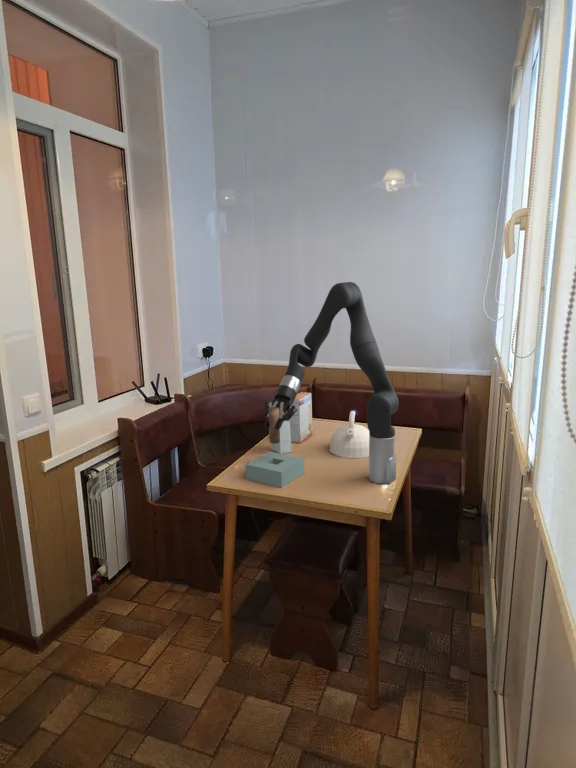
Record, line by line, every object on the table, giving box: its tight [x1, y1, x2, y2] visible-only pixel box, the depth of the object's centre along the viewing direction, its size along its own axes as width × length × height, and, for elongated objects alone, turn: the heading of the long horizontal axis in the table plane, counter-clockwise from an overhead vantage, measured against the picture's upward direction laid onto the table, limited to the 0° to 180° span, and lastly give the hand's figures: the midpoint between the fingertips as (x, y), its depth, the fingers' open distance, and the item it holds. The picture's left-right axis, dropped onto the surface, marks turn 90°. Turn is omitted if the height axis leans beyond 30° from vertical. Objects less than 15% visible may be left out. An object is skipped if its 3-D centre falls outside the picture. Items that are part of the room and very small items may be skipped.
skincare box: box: [270, 421, 292, 455], centre depth 223 cm, size 8×6×15 cm
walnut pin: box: [268, 406, 280, 444], centre depth 193 cm, size 4×4×13 cm
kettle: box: [329, 409, 369, 459], centre depth 222 cm, size 20×21×18 cm
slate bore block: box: [245, 451, 305, 489], centre depth 196 cm, size 16×16×6 cm
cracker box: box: [289, 391, 313, 444], centre depth 239 cm, size 14×6×21 cm, turn 154°
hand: (271, 427), depth 191 cm, fingers closed on walnut pin, 4 cm apart
